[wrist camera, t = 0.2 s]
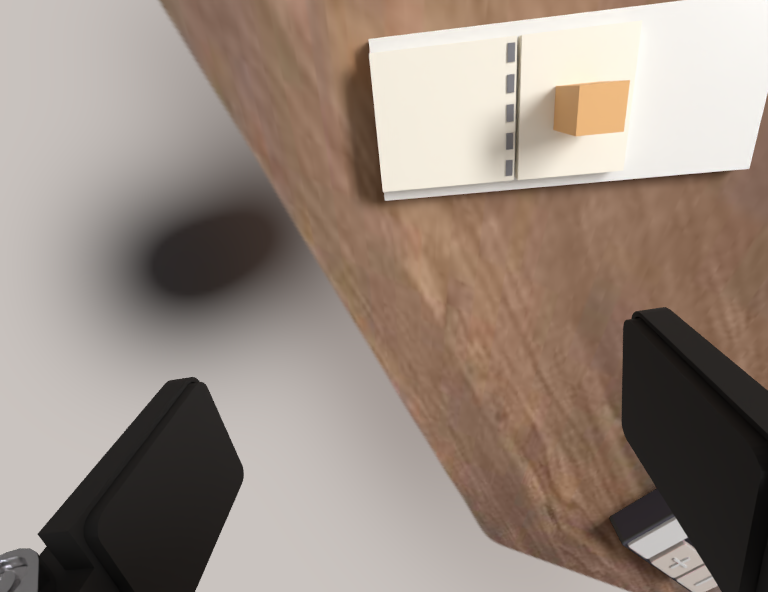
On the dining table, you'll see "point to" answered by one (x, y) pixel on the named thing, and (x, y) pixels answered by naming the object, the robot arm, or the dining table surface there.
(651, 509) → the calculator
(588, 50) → the stub
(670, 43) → the board
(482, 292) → the dining table surface
